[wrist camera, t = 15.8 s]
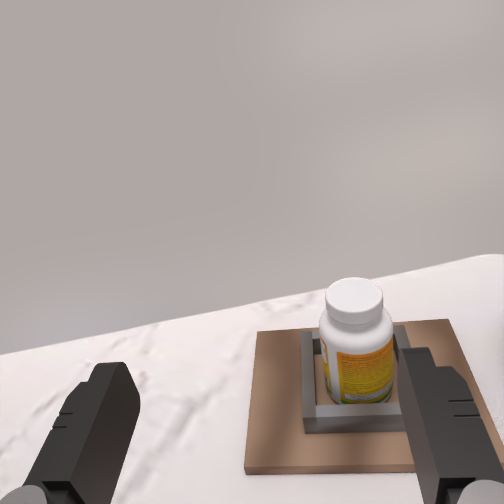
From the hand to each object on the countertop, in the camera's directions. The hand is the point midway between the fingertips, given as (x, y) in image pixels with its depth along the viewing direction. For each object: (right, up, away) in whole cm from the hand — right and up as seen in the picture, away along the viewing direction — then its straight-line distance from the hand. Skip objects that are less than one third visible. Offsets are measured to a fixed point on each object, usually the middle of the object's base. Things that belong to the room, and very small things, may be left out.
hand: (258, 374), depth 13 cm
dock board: (+9, -8, +24) cm, 27 cm away
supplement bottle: (+9, -8, +23) cm, 26 cm away
